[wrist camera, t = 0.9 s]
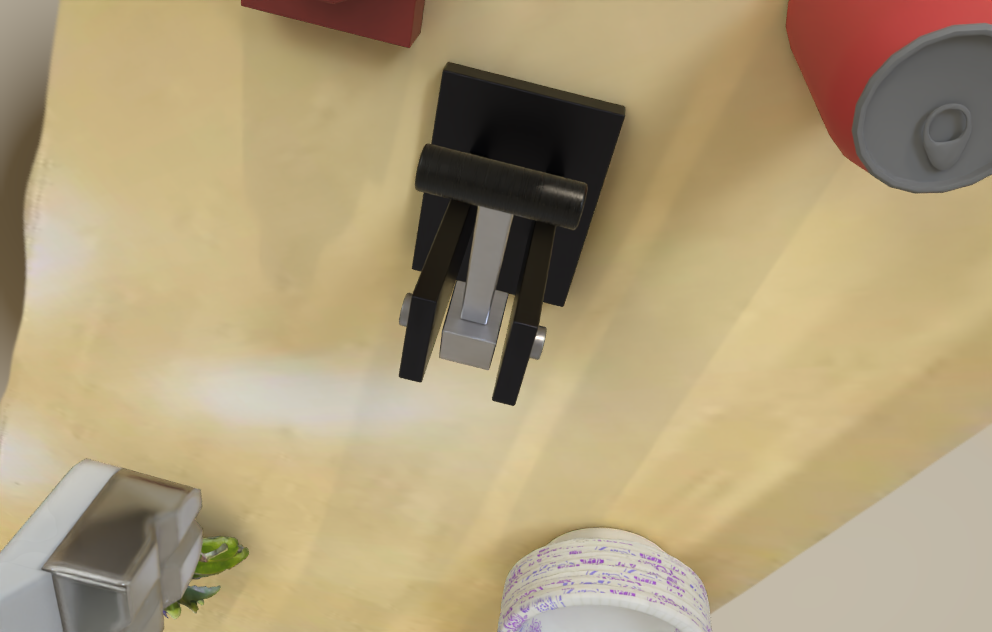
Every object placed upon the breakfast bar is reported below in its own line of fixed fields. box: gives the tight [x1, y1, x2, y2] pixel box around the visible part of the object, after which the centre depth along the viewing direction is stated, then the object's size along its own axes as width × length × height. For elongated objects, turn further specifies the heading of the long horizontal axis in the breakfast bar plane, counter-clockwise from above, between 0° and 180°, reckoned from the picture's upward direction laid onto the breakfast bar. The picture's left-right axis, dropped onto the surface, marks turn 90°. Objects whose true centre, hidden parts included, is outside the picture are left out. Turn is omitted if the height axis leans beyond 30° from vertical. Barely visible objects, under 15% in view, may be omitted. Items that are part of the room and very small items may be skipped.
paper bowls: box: [497, 528, 712, 632], centre depth 57 cm, size 15×15×8 cm
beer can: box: [786, 0, 992, 193], centre depth 29 cm, size 7×7×12 cm
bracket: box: [399, 62, 625, 406], centre depth 36 cm, size 12×9×14 cm
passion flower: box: [163, 536, 249, 619], centre depth 62 cm, size 11×11×12 cm
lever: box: [415, 144, 588, 370], centre depth 28 cm, size 12×5×2 cm, turn 168°
